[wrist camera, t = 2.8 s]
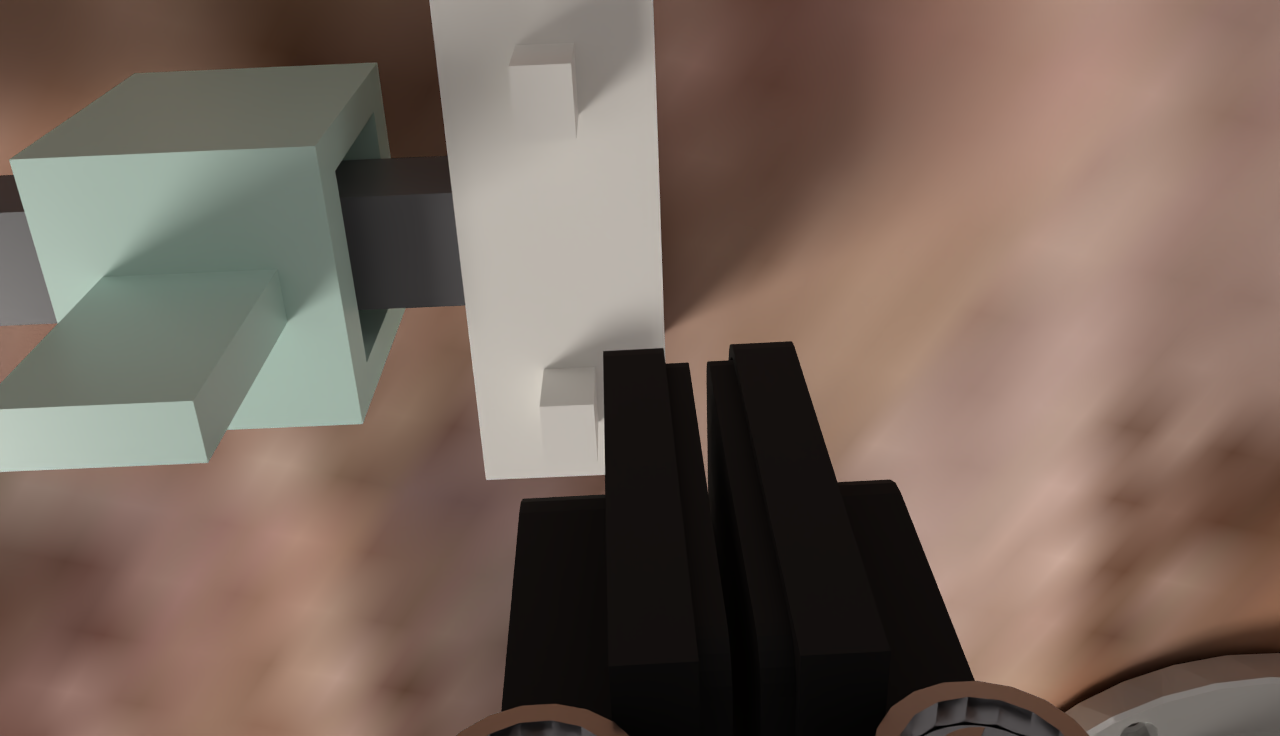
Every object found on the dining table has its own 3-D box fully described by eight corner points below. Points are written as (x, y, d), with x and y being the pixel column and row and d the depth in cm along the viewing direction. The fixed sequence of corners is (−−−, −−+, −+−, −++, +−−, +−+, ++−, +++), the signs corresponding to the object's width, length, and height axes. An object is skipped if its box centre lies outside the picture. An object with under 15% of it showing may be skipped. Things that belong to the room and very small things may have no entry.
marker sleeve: (377, 62, 20) (235, 254, 12) (410, 295, 22) (304, 580, 14) (134, 72, 20) (-152, 270, 12) (189, 305, 22) (-31, 594, 14)
